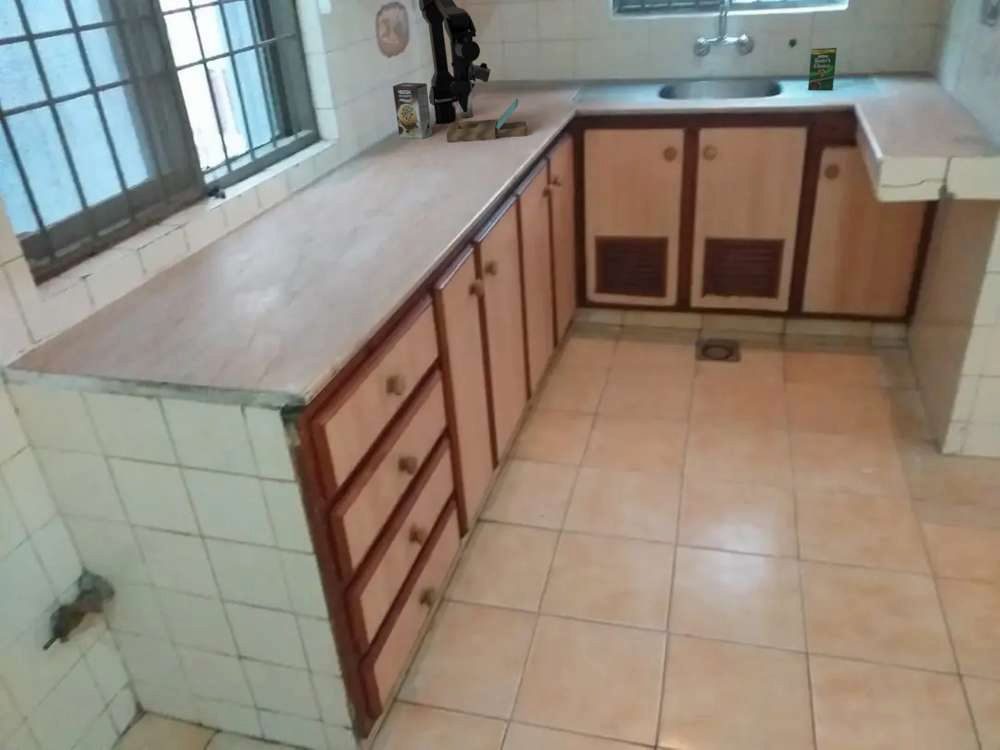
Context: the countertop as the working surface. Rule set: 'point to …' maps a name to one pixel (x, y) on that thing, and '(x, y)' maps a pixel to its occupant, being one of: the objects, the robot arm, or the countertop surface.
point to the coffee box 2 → (822, 69)
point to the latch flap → (507, 114)
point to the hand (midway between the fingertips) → (466, 110)
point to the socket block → (484, 130)
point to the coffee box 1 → (412, 110)
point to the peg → (469, 111)
